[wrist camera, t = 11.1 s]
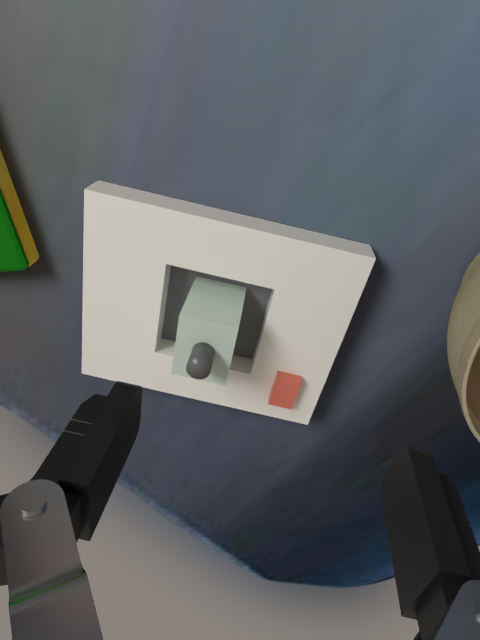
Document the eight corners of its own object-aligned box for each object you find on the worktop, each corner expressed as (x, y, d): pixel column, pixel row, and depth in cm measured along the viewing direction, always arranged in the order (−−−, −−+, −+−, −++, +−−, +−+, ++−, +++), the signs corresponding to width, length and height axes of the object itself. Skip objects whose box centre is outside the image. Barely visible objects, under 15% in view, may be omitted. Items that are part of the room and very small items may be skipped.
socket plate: (370, 245, 31) (378, 263, 28) (306, 405, 39) (308, 431, 36) (98, 180, 30) (79, 192, 27) (93, 356, 39) (77, 379, 36)
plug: (246, 287, 33) (235, 345, 26) (234, 339, 36) (222, 404, 29) (196, 276, 33) (171, 331, 26) (188, 329, 36) (164, 391, 29)
